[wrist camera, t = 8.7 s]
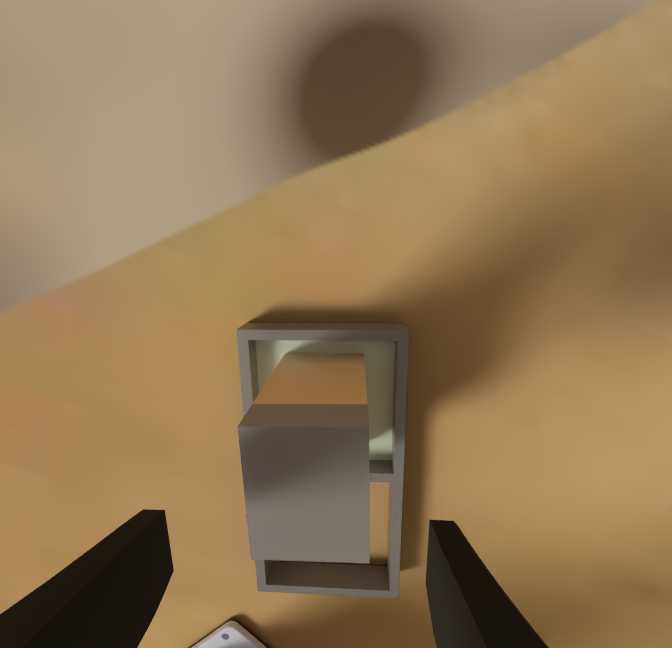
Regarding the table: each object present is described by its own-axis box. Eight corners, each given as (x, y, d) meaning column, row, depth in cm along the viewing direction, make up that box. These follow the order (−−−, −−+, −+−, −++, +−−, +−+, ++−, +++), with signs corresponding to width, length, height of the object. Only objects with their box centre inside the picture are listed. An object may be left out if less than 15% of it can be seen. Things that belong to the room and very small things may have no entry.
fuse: (364, 442, 18) (369, 563, 11) (290, 441, 18) (251, 559, 11) (364, 353, 17) (369, 427, 10) (284, 353, 17) (237, 426, 10)
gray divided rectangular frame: (395, 572, 20) (398, 598, 19) (264, 567, 21) (257, 591, 19) (404, 322, 17) (409, 330, 15) (246, 322, 17) (236, 329, 16)
